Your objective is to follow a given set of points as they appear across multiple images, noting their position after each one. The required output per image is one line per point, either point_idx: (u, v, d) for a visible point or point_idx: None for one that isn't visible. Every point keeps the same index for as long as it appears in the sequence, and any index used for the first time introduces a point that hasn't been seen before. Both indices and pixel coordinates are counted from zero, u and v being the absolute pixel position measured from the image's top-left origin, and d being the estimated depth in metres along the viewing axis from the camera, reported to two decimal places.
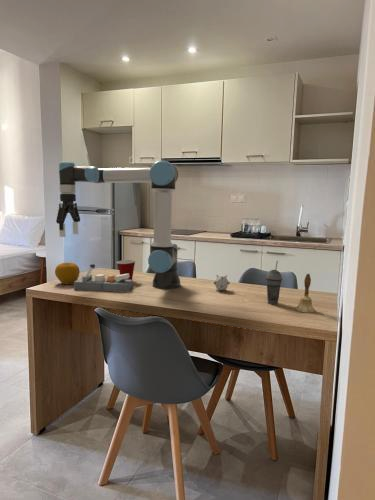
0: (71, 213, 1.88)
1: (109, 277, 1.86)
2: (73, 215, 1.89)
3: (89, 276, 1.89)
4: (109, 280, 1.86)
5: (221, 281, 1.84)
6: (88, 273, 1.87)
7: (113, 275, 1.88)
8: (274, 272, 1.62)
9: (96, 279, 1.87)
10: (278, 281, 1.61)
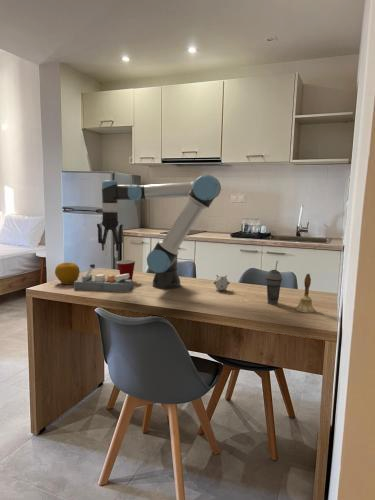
0: None
1: (109, 277, 1.86)
2: None
3: (89, 276, 1.89)
4: (109, 280, 1.86)
5: (221, 281, 1.84)
6: (88, 273, 1.87)
7: (113, 275, 1.88)
8: (274, 272, 1.62)
9: (96, 279, 1.87)
10: (278, 281, 1.61)
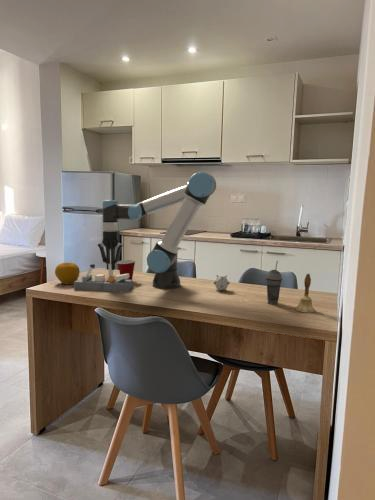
0: None
1: (109, 278, 1.86)
2: None
3: (89, 276, 1.89)
4: (109, 281, 1.86)
5: (221, 281, 1.84)
6: (88, 273, 1.87)
7: (113, 276, 1.88)
8: (274, 272, 1.62)
9: (96, 279, 1.87)
10: (278, 281, 1.61)
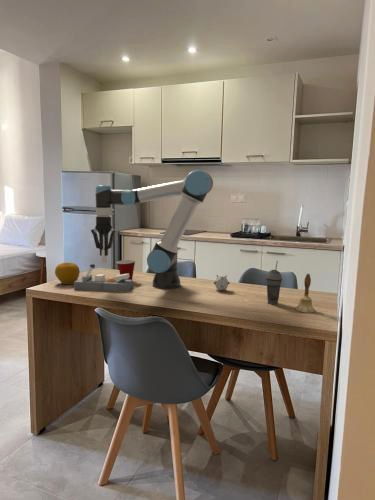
0: None
1: (109, 280, 1.86)
2: None
3: (89, 276, 1.89)
4: None
5: (221, 281, 1.84)
6: (88, 273, 1.87)
7: (113, 278, 1.88)
8: (274, 272, 1.62)
9: (96, 279, 1.87)
10: (278, 281, 1.61)
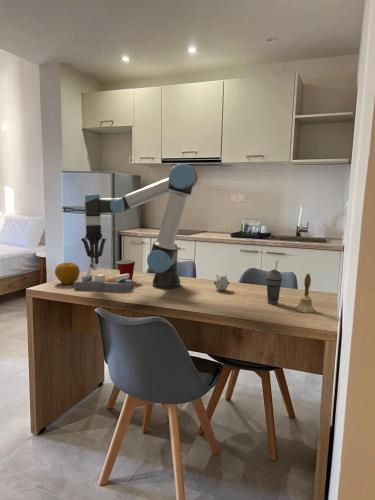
0: None
1: (109, 280, 1.86)
2: None
3: (89, 276, 1.89)
4: None
5: (221, 281, 1.84)
6: (88, 273, 1.87)
7: (113, 278, 1.88)
8: (274, 272, 1.62)
9: (96, 279, 1.87)
10: (278, 281, 1.61)
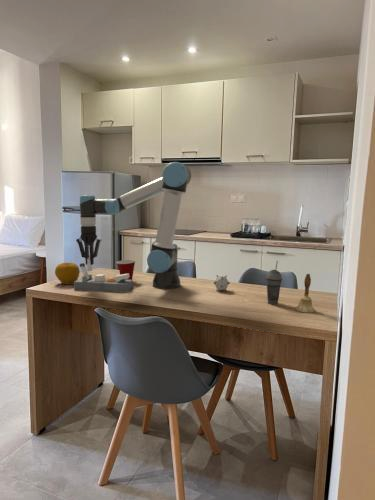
0: None
1: (109, 280, 1.86)
2: None
3: (87, 275, 1.89)
4: None
5: (221, 281, 1.84)
6: (84, 273, 1.88)
7: (113, 278, 1.88)
8: (274, 272, 1.62)
9: (96, 279, 1.87)
10: (278, 281, 1.61)
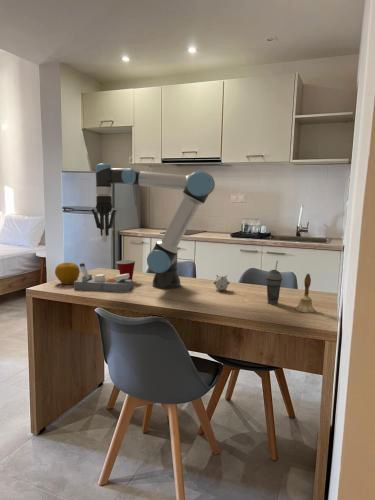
0: None
1: (109, 280, 1.86)
2: None
3: (87, 275, 1.89)
4: None
5: (221, 281, 1.84)
6: (84, 273, 1.88)
7: (113, 278, 1.88)
8: (274, 272, 1.62)
9: (96, 279, 1.87)
10: (278, 281, 1.61)
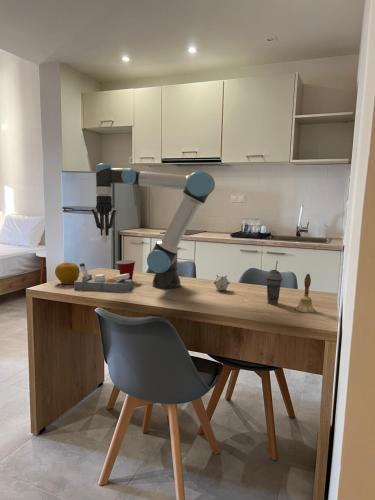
0: None
1: (109, 280, 1.86)
2: None
3: (87, 275, 1.89)
4: None
5: (221, 281, 1.84)
6: (84, 273, 1.88)
7: (113, 278, 1.88)
8: (274, 272, 1.62)
9: (96, 279, 1.87)
10: (278, 281, 1.61)
